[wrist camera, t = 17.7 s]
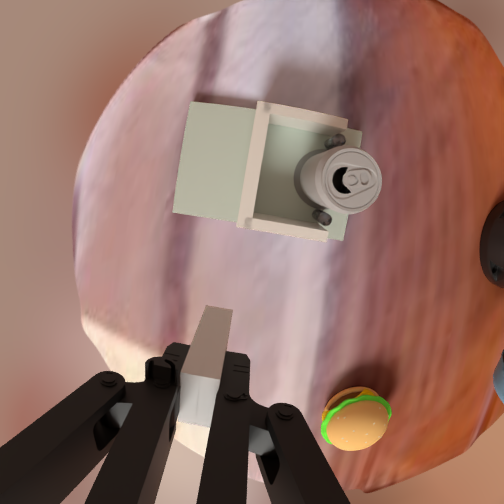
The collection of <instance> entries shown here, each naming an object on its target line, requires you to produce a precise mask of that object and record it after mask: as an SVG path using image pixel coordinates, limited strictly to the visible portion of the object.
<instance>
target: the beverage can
mask: <svg viewBox="0 0 504 504" xmlns="http://www.w3.org/2000/svg"><path fill="white" fill-rule="evenodd" d="M300 184H301V187H302V190H303V192H304V193H305V195H306V196H307V197H308V198H309V199H310V200H311V201H313V202H315V203H317V204H319V205H322V206H324V207H326V208H329V209H331V210H334V211H336V212H339V213H342V214H355V213H359V212H361V211H363V210H365V209H367V208H368V207H369V206H370V205H371V204H373V203H374V201H375V200H376V199H377V197H378V195H379V193H380V190H381V185H382V176H381V172H380V169H379V166H378V164H377V163H376V161H375V160H374V159H373V158H372V157H371V156H370V155H369V154H368V153H367V152H365V151H364V150H362V149H360V148H358V147H355V146H350V145H343V146H338V147H335V148H332V149H330V150H327V151H325V152H322V153H319V154H317V155H314V156H312V157H311V158H310V159H308V160H307V161H306V163H305V164H304V165H303V168H302V170H301V173H300Z"/></svg>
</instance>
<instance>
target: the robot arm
mask: <svg viewBox="0 0 504 504" xmlns="http://www.w3.org/2000/svg"><path fill="white" fill-rule="evenodd" d="M480 261H481V266H482V269H483V272H484V274H485V276H486V277H487V279H488V280H489V281H490V282H492V283H493V284H495V285H497V286H499V287H501V288H504V201H502V202H500V203H499V204H498V205H496V206H495V208H494V209H493V210H492V211H491V213H490V214H489V216H488V218H487V220H486V222H485V225H484V228H483V231H482V235H481V241H480ZM232 312H233V310H230V309H224V308H218V307H213V306H207V305H206V307H205V310H204V312H203V315H202V318H201V320H200V323H199V325H198V328H197V330H196V333H195V336H194V338H193V341H192V343H191V345H186V344H181V343H176V342H173V343H172V344H170V345H169V346H167V348H166V350H165V352H164V354H163V356H162V357H153V358H150V359H148V360H147V361H146V362H145V381H143V382H136V383H133V382H125V379H124V377H123V376H122V375H120V374H119V373H116V372H113V371H104V372H100V373H98V374H96V375H95V376H93V377H92V378H91V379H89V380H88V381H87V382H86V383H84V384H83V385H82V386H80V387H79V388H78V389H76V390H75V391H74V392H72V393H71V394H70V395H69V396H67V397H66V398H65V399H63V400H62V401H61V402H60V403H58V404H57V405H56V406H54V407H53V408H52V409H50V410H49V411H48V412H46V413H45V414H44V415H42V416H41V417H40V418H38V419H37V420H36V421H35V422H33V423H32V424H31V425H29V426H28V427H27V428H25V429H24V430H23V431H21V432H20V433H19V434H17V435H16V436H15V437H13V438H12V439H11V440H10V441H8V442H7V443H6V444H4V445H3V446H2V447H0V504H60V503H61V502H62V501H63V500H64V499H65V498H66V497H67V496H68V495H69V494H70V493H71V491H73V489H74V488H75V487H76V486H77V485H78V484H79V483H80V482H81V481H82V480H83V479H84V478H85V477H86V476H87V475H88V474H89V473H90V472H91V470H92V469H93V468H94V467H95V466H96V465H97V464H98V463H99V462H100V461H101V460H102V459H103V458H104V456H105V455H106V454H107V453H108V452H109V453H108V455H107V457H106V459H105V461H104V463H103V465H102V467H101V469H100V471H99V474H98V476H97V478H96V480H95V482H94V484H93V486H92V489H91V491H90V493H89V495H88V497H87V499H86V501H85V504H154V503H155V500H156V496H157V492H158V489H159V486H160V482H161V478H162V475H163V472H164V468H165V465H166V461H167V458H168V455H169V451H170V448H171V444H172V441H173V438H174V434H175V431H176V421H177V417H178V421H179V422H183V423H188V424H193V425H199V426H204V427H210V431H209V437H208V442H207V448H206V453H205V459H204V464H203V470H202V476H201V481H200V486H199V492H198V498H197V503H196V504H246V499H247V498H246V497H247V474H248V451H250V452H253V453H255V454H256V459H257V462H258V465H259V468H260V471H261V474H262V477H263V480H264V483H265V486H266V489H267V492H268V495H269V497H270V501H271V504H350V502H349V500H348V498H347V496H346V495H345V493H344V491H343V489H342V487H341V486H340V484H339V482H338V480H337V478H336V477H335V475H334V473H333V471H332V469H331V467H330V466H329V464H328V462H327V460H326V458H325V456H324V455H323V453H322V451H321V449H320V447H319V445H318V443H317V442H316V440H315V438H314V436H313V434H312V432H311V430H310V428H309V426H308V425H307V423H306V421H305V419H304V417H303V415H302V413H301V412H300V410H299V409H298V408H296V407H295V406H293V405H290V404H287V403H277V404H273V405H272V406H270V407H269V408H267V407H264V406H262V405H259V404H257V403H256V402H254V401H253V400H252V399H251V397H250V395H249V380H250V359H249V358H248V356H247V355H246V354H241V353H235V352H229V351H226V350H227V344H228V337H229V331H230V325H231V318H232ZM493 383H494V387H495V390H496V392H497V394H498V396H499V398H500V399H501V401H502V402H503V403H504V350H503V351H502V354H501V358H500V360H499V362H498V364H497V366H496V368H495V371H494V374H493Z"/></svg>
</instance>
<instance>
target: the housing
mask: <svg viewBox="0 0 504 504" xmlns="http://www.w3.org/2000/svg"><path fill="white" fill-rule="evenodd" d="M268 124H274V125H280V126H285V127H291V128H296V129H301V130H306V131H311V132H315V133H320V134H324V135H329V136H334V135H336V134H339V133H341V132H343V131H345V130H347V124H348V119H345V118H341V117H337V116H333V115H329V114H324V113H320V112H316V111H311V110H306V109H301V108H296V107H291V106H286V105H280V104H275V103H269V102H263V101H258V102H257V107H256V113H255V119H254V124H253V130H252V136H251V142H250V148H249V153H248V159H247V165H246V171H245V177H244V183H243V189H242V195H241V202H240V208H239V214H238V220H237V227H239V228H245V229H251V230H257V231H263V232H269V233H275V234H281V235H287V236H293V237H298V238H304V239H310V240H316V241H321V242H327V238H328V233H329V231H327V230H326V229H325V228H323V227H322V226H321V225H319V224H317V223H312V222H307V221H301V220H295V219H290V218H284V217H278V216H273V215H267V214H261V213H255V212H254V206H255V200H256V194H257V188H258V182H259V176H260V170H261V164H262V158H263V153H264V147H265V141H266V135H267V129H268Z"/></svg>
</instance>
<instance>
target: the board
mask: <svg viewBox="0 0 504 504" xmlns="http://www.w3.org/2000/svg"><path fill="white" fill-rule="evenodd" d="M255 113H256V109H251V108H244V107H237V106H229V105H221V104H212V103H202V102H191V101H190V106H189V111H188V117H187V122H186V127H185V133H184V139H183V145H182V151H181V157H180V163H179V169H178V176H177V183H176V190H175V197H174V205H173V213H180V214H186V215H193V216H199V217H206V218H212V219H218V220H225V221H231V222H237V220H238V214H239V208H240V202H241V195H242V189H243V183H244V177H245V171H246V165H247V159H248V153H249V148H250V142H251V136H252V130H253V124H254V119H255ZM339 134H342V135H344V136H345V138H346V143H345V144H344V145H350V146H355V147H358V148H360V145H361V138H362V132H361V131H358V130H354V129H350V128H347V130H345V131H343V132H341V133H339ZM331 137H333V136H329V135H324V134H320V133H315V132H311V131H306V130H301V129H296V128H291V127H285V126H280V125H274V124H268V129H267V135H266V141H265V147H264V153H263V158H262V164H261V170H260V176H259V182H258V188H257V194H256V200H255V206H254V212H255V213H261V214H267V215H273V216H278V217H284V218H290V219H295V220H301V221H307V222H312V223H317V224H319V225H321V226H322V227H323V228H325V229H326V230H327V231H329V233H328V238H330V239H335V240H341V241H343V238H344V233H345V229H346V224H347V219H348V214H342V213H339V212H336V211H334V210H331V209H329V208H326V207H324V206H322V205H319V204H317V203H315V202H313V201H311V200H310V199H309V198H308V197H307V196H306V195H305V193H304V192H303V190H302V187H301V184H300V173H301V170H302V168H303V165H304V164H305V163H306V161H307V160H308V159H310V158H311V157H312V156H314V155H317V154H319V153H322V152H325V151H327V150H328V149H326V148H325V146H324V142H325V141H326V140H327V139H329V138H331ZM315 209H320V210H322V211H324V212H326V213H328V214H329V215H331V217H332V222H331V224H330V225H328V226H323V225H322V224H320V223H319V222H318V221H316V220H315V219H314V218H313V217H312V212H313V211H314V210H315Z"/></svg>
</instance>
